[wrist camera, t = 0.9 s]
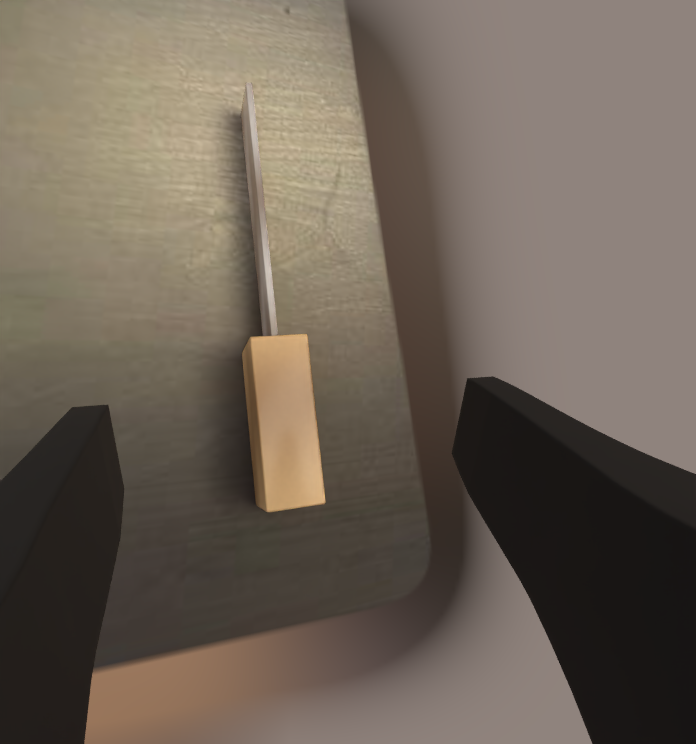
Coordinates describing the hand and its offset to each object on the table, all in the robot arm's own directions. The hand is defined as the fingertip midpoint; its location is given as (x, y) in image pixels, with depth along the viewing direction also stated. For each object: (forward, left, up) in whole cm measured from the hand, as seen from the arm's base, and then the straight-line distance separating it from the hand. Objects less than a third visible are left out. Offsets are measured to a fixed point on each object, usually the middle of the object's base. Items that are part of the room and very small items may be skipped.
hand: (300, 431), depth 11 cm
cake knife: (+7, -2, -14) cm, 16 cm away
